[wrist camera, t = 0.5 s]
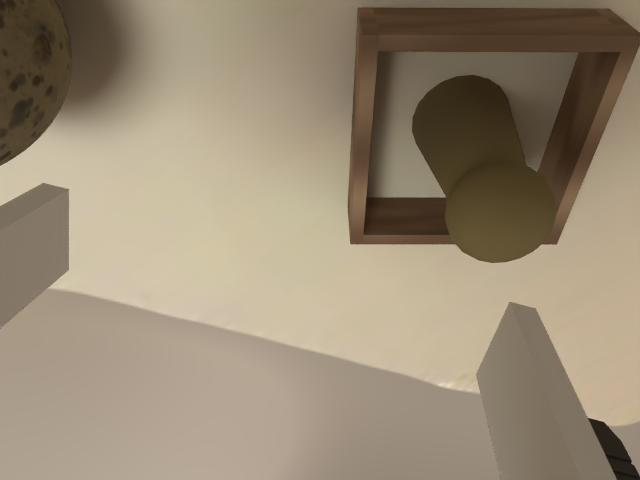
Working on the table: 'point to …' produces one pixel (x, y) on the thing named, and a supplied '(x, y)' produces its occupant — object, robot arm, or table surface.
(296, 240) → the table surface
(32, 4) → the decorative egg
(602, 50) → the walnut box
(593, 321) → the table surface
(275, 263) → the table surface
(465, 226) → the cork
